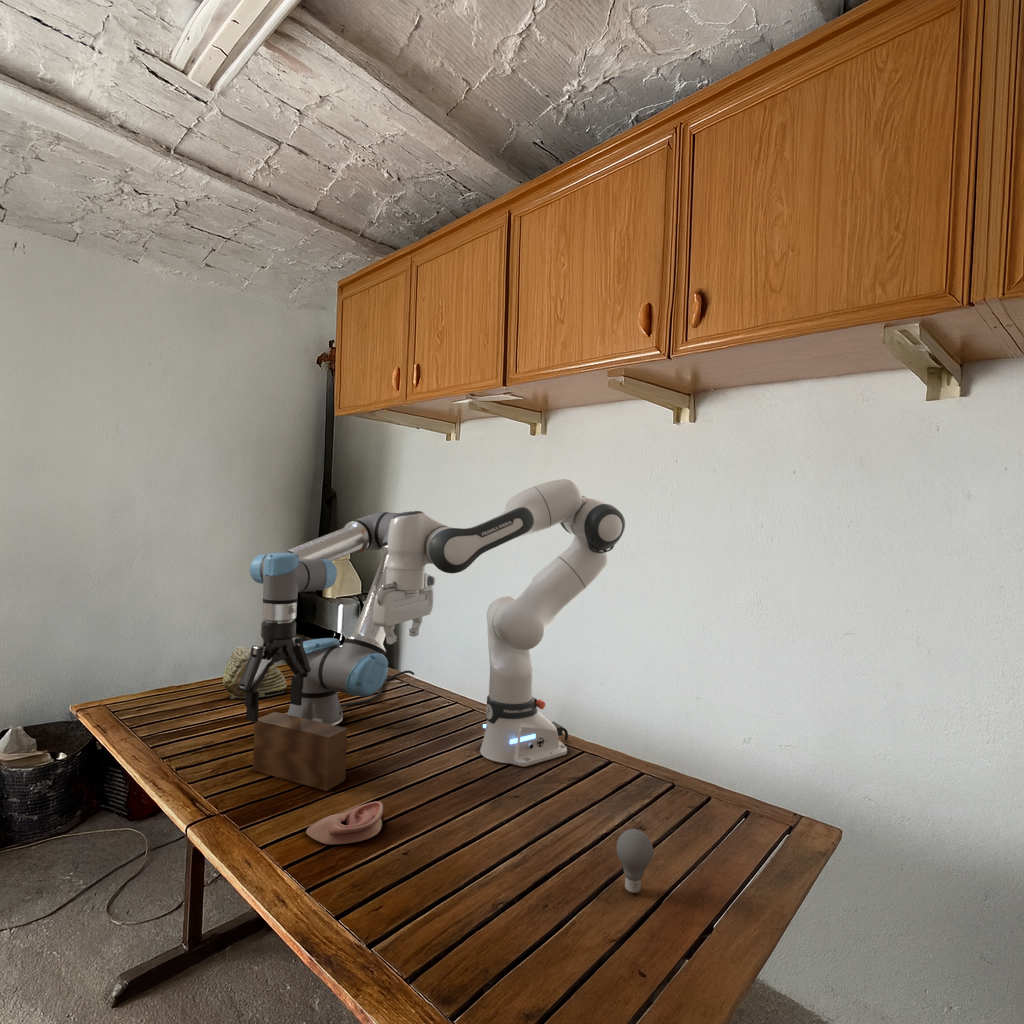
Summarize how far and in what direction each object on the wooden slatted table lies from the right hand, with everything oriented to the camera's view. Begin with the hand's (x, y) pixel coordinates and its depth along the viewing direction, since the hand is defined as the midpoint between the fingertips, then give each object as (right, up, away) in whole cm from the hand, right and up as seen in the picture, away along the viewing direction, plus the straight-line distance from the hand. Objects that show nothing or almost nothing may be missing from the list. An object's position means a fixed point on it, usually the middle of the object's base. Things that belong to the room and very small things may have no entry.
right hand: (402, 639), depth 148 cm
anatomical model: (-6, -31, -27) cm, 42 cm away
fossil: (-55, -28, +50) cm, 80 cm away
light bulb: (+46, -34, -42) cm, 71 cm away
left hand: (-29, -16, -2) cm, 34 cm away
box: (-23, -30, -4) cm, 38 cm away
